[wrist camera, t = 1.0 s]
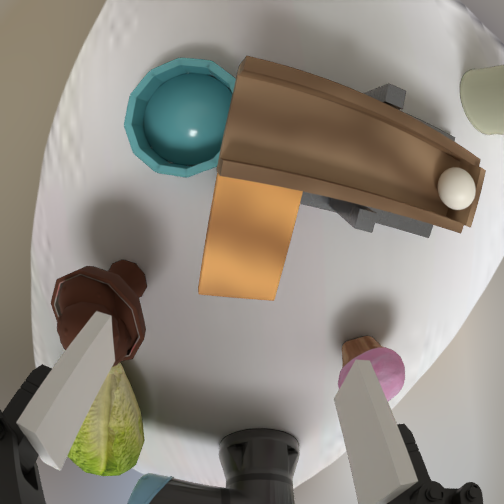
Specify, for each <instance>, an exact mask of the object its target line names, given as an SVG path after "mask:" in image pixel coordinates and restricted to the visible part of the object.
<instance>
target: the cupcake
mask: <svg viewBox="0 0 504 504" xmlns="http://www.w3.org/2000/svg"><path fill="white" fill-rule="evenodd" d="M342 359H343V367H342V369H341V371H340V375H339V380H338V387H339V389H340V387H341V385H342V384H343V382H344V380H345V378H346V376H347V375H348V373H349V371H350V369H351V367H352V365H353V363H354V362H355V360H370V362H371V364H372V367H373V369H374V371H375V373H376V376H377V378H378V380H379V383H380V385H381V387H382V390H383V392H384V394H385V397H386V399H387V401H389V400H391V399H392V398H393V397H394V396H396V395H397V394H398V393H399V392H400V390H401V389H402V387H403V384H404V380H405V367H404V364H403V362H402V359H401V357H400V356H399V355H398V354H397V353H396V352H395V351H393V350H391V349H388V348H386V347H382V346H381V345H380V344H379V343H378V342H377V341H376V340H375V339H374V338H373V337H371V336H364V337H360V338H357V339H352V340H350V341H347V342H345V343H344V344H343V346H342Z"/></svg>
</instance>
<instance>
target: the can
mask: <svg viewBox="0 0 504 504" xmlns="http://www.w3.org/2000/svg"><path fill="white" fill-rule="evenodd" d="M460 96H461V102H462V105H463V108H464V111H465V114H466V116H467V118H468V119H469V121H470V122H471V124H472V125H473V126H474V127H475V128H476V129H477V130H478V131H479V132H481V133H483V134H486V135H493V134H500V135H504V65H500V66H494V67H489V68H483V69H472V70H469V71H467V72H466V73H465V74H464V76H463V78H462V80H461V85H460Z"/></svg>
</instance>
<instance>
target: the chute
mask: <svg viewBox="0 0 504 504" xmlns="http://www.w3.org/2000/svg"><path fill="white" fill-rule="evenodd" d="M479 164H480V159H479V158H478V157H476V156H475V155H474V154H472V153H471V152H469V151H468V150H466V149H465V148H463V147H462V146H460V145H459V144H457V143H456V142H454V141H452V140H451V139H449V138H448V137H446V136H444V135H443V134H441V133H439V132H438V131H436V130H434V129H433V128H431V127H429V126H427V125H426V124H424V123H422V122H420V121H419V120H417V119H415V118H413V117H411V116H409V115H407V114H405V113H403V112H401V111H400V110H398V109H396V108H393V107H391V106H389V105H387V104H385V103H383V102H381V101H379V100H377V99H374V98H372V97H370V96H368V95H365V94H363V93H361V92H358V91H356V90H354V89H351V88H349V87H346V86H344V85H341V84H338V83H336V82H333V81H330V80H328V79H325V78H322V77H319V76H316V75H313V74H311V73H307V72H304V71H301V70H298V69H295V68H292V67H288V66H285V65H281V64H278V63H274V62H270V61H266V60H263V59H259V58H254V57H250V56H246V57H245V59H244V60H243V61H242V63H241V64H240V65H239V69H238V73H237V77H236V81H235V85H234V90H233V94H232V98H231V103H230V107H229V112H228V116H227V121H226V126H225V130H224V135H223V140H222V145H221V150H220V155H219V160H218V165H217V172H218V173H217V178H216V183H215V188H214V194H213V199H212V205H211V211H210V216H209V222H208V228H207V234H206V240H205V246H204V253H203V259H202V265H201V272H200V279H199V286H198V292H199V294H201V295H211V296H222V297H234V298H246V299H258V300H272V301H274V299H275V296H276V292H277V288H278V285H279V281H280V277H281V274H282V270H283V266H284V263H285V259H286V255H287V252H288V248H289V244H290V240H291V236H292V232H293V229H294V225H295V221H296V217H297V213H298V209H299V205H300V201H301V197H302V193H303V192H308V193H313V194H317V195H322V196H326V197H331V198H335V199H339V200H343V201H348V202H352V203H356V204H360V205H364V206H368V207H372V208H376V209H379V210H383V211H387V212H391V213H394V214H398V215H402V216H405V217H409V218H412V219H416V220H419V221H423V222H426V223H429V224H433V225H436V226H439V227H442V228H446V229H449V230H452V231H455V232H458V233H461V232H462V229H463V226H464V225H465V226H468V227H471V225H472V222H473V218H474V215H475V212H476V208H477V204H478V201H479V197H480V193H481V189H482V185H483V181H484V176H485V172H486V170H484V169H483V168H481V167H479ZM453 167H457V168H461V169H464V170H465V171H467V172H468V173H469V174H470V175H471V177H472V178H473V180H474V183H475V188H476V192H475V197H474V200H473V202H472V203H471V204H470V205H469V206H468V207H467V208H465V209H461V210H454V209H451V208H449V207H448V206H446V205H445V204H444V203H443V202H442V200H441V198H440V196H439V193H438V181H439V178H440V176H441V174H442V173H443V172H444V171H445V170H447V169H449V168H453Z"/></svg>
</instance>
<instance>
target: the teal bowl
mask: <svg viewBox="0 0 504 504" xmlns="http://www.w3.org/2000/svg"><path fill="white" fill-rule="evenodd" d="M209 75H210V76H209ZM212 76H213V77H212ZM214 77H215V78H214ZM235 81H236V78H234V77H233V76H232V75H230V74H229V73H228V72H226V71H225V70H224V69H222V68H221V67H220V66H218V65H217V64H216V63H214V62H213V61H211V60H203V59H193V58H177V59H175V60H172V61H170V62H168V63H165V64H163V65H161V66H158V67H156V68H154V69H152V70H151V71H149V72H148V73H147V74H146V76H145V77H144V78H143V79H142V80H141V82H140V83H139V84H138V85H137V87H136V88H135V89H134V90H133V92H132V93H131V94H130V95H131V96H130V97H129V101H128V106H127V111H126V116H125V122H124V125H125V126H124V127H125V130H126V134H127V136H128V139H129V142H130V145H131V148H132V151H133V153H134V155H136V156H137V157H138V158H139V159H140V160H142V161H143V162H144V163H145V164H146V165H148V166H149V167H150V168H151V169H152V170H153V171H155V172H157V173H161V174H168V175H174V176H180V177H190V176H193V175H195V174H198V173H201V172H203V171H206V170H209V169H212V168H215V167H217V165H218V160H219V155H220V150H221V145H222V140H223V135H224V130H225V126H226V121H227V116H228V112H229V107H230V103H231V98H232V94H233V90H234V85H235ZM227 87H228V88H229V89H230V90H231V91H232V93H231V92H230V90H229V89H228V88H227ZM151 147H152V148H151ZM211 159H212V160H211ZM168 161H169V162H168ZM170 162H172V163H170ZM200 163H201V164H200ZM195 164H198V165H195ZM189 165H195V166H189Z"/></svg>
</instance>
